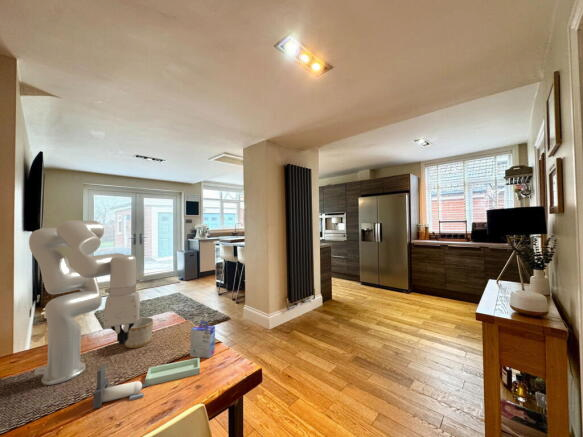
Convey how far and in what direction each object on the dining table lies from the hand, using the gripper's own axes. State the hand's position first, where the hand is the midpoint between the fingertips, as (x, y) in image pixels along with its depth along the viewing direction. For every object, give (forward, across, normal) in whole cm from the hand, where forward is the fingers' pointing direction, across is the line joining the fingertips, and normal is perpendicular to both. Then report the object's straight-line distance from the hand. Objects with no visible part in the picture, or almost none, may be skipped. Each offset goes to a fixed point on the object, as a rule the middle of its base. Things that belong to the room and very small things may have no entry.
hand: (122, 342), depth 81 cm
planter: (+19, -3, +40) cm, 45 cm away
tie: (+19, -6, 0) cm, 20 cm away
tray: (+19, +16, +7) cm, 26 cm away
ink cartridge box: (+19, +27, +17) cm, 37 cm away
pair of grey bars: (+19, +5, 0) cm, 19 cm away
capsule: (+19, -1, 0) cm, 19 cm away
